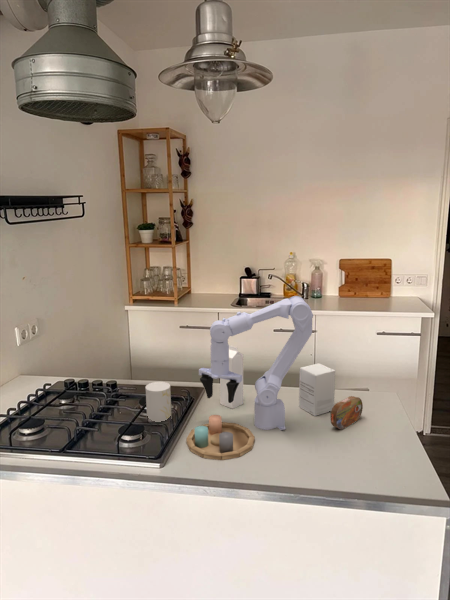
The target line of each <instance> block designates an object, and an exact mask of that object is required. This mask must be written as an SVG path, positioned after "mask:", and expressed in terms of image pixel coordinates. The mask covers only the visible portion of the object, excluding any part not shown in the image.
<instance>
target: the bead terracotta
mask: <svg viewBox="0 0 450 600" xmlns="http://www.w3.org/2000/svg"><path fill="white" fill-rule="evenodd" d="M222 422H223V421H222V416H221V415H219V414H211V415H209V416H208V423H209V434H210V435H213V434H216V433H222Z"/></svg>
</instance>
